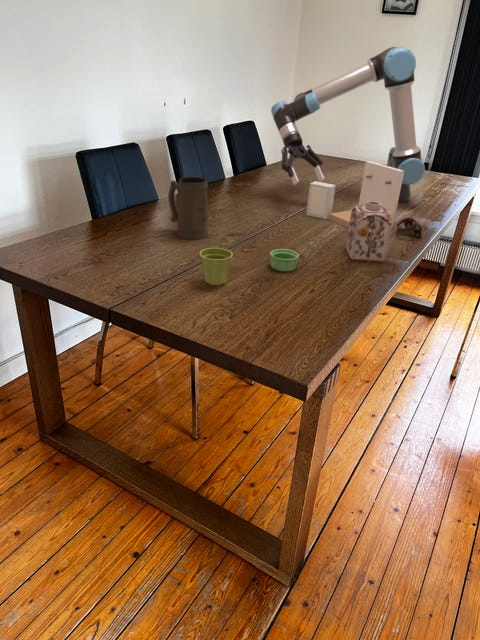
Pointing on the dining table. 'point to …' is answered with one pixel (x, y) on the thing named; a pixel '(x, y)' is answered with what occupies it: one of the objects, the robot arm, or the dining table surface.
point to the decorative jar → (369, 232)
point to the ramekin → (284, 259)
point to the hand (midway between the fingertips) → (309, 182)
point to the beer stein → (190, 207)
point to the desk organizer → (376, 190)
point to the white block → (320, 199)
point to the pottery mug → (409, 227)
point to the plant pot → (215, 264)
